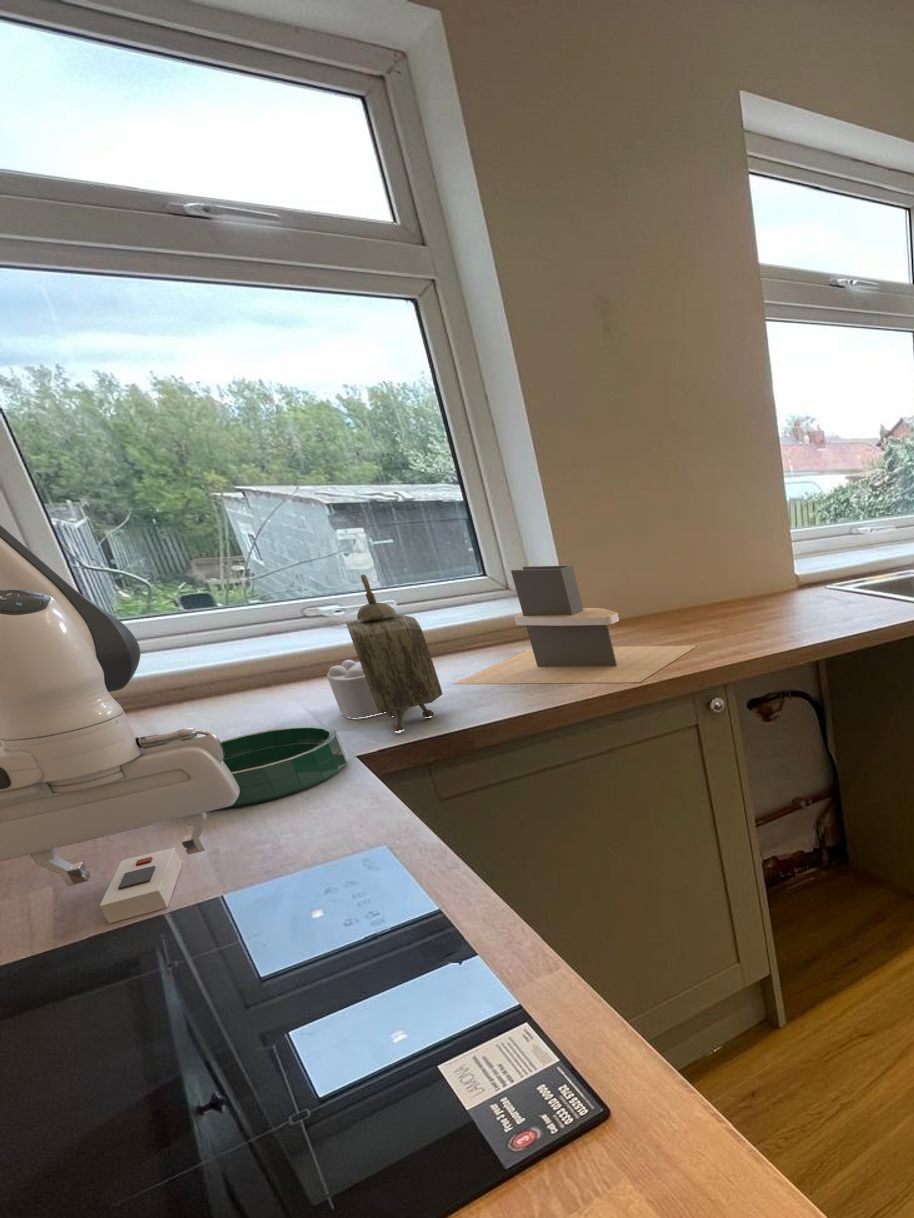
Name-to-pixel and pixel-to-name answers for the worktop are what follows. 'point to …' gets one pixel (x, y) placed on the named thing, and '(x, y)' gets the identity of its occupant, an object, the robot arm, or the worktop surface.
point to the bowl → (282, 761)
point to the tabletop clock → (393, 659)
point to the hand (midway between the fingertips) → (140, 865)
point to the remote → (141, 885)
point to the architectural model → (569, 638)
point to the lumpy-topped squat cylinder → (352, 690)
